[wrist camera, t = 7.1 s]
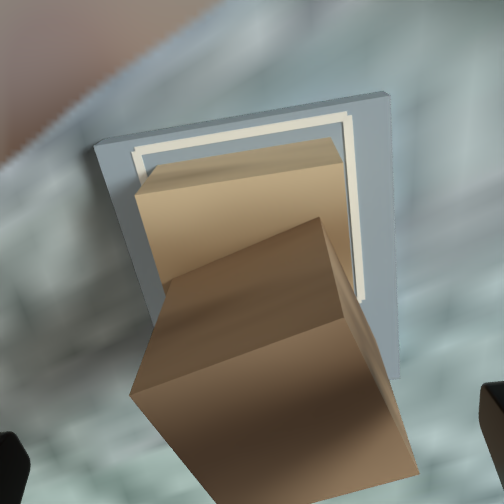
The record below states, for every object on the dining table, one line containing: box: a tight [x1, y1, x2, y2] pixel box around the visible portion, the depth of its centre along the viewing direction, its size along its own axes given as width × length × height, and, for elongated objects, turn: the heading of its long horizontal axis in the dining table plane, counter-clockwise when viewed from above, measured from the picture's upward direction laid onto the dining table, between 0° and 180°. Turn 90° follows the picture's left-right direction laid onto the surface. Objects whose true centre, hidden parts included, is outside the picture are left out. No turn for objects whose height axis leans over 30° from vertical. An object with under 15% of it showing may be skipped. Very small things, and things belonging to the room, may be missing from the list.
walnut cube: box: [129, 217, 419, 504], centre depth 13 cm, size 5×5×5 cm
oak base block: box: [135, 137, 354, 296], centre depth 16 cm, size 6×6×3 cm
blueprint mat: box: [94, 91, 400, 380], centre depth 18 cm, size 12×10×1 cm
